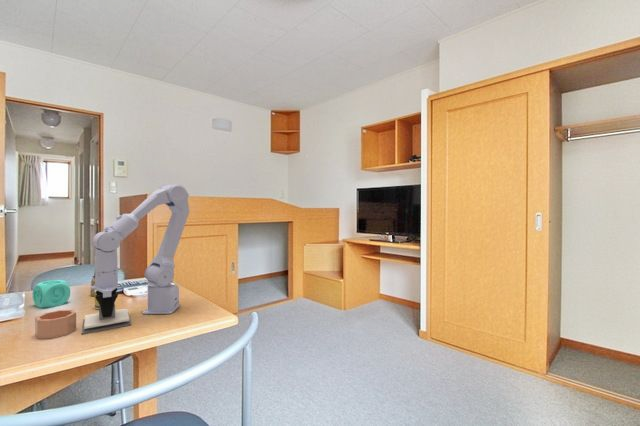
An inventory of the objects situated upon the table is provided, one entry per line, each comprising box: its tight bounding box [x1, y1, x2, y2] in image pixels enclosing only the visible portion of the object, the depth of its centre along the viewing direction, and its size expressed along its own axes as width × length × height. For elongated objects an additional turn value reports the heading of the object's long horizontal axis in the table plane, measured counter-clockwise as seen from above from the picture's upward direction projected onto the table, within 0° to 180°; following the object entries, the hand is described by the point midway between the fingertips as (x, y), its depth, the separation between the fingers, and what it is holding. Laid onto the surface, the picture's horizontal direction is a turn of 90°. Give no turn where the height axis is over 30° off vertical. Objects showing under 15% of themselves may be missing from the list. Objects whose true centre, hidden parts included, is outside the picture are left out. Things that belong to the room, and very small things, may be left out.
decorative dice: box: [32, 279, 71, 309], centre depth 112 cm, size 8×8×8 cm
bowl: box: [34, 309, 77, 340], centre depth 89 cm, size 8×8×5 cm
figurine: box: [90, 272, 95, 298], centre depth 125 cm, size 7×7×12 cm
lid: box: [84, 302, 130, 329], centre depth 96 cm, size 11×11×4 cm
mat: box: [81, 312, 132, 335], centre depth 96 cm, size 12×12×1 cm
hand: (107, 314), depth 96 cm, fingers closed on lid, 4 cm apart
